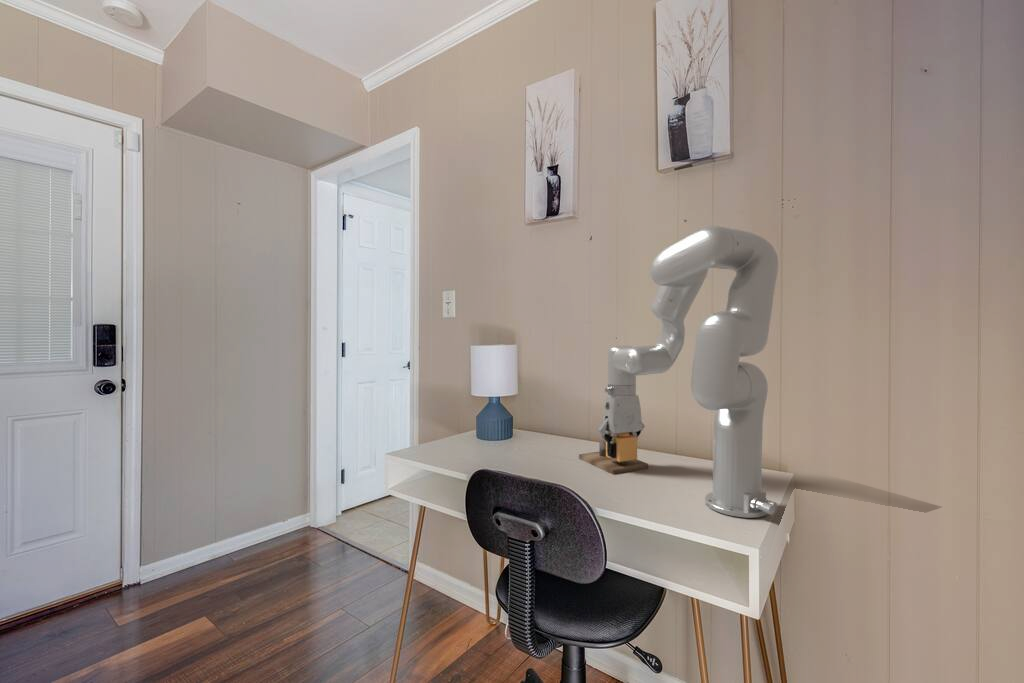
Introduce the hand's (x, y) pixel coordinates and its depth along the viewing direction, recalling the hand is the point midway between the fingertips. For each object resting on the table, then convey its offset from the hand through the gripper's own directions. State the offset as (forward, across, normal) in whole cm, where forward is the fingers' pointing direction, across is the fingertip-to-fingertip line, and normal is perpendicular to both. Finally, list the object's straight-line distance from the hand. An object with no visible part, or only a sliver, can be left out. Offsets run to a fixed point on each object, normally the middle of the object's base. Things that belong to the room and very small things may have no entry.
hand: (621, 454), depth 129 cm
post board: (+3, 0, +4) cm, 5 cm away
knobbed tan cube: (+1, 0, 0) cm, 1 cm away
